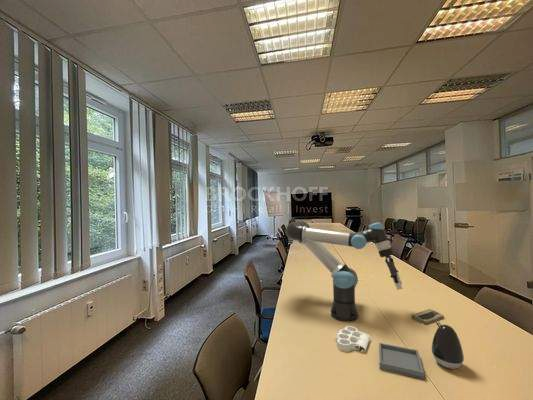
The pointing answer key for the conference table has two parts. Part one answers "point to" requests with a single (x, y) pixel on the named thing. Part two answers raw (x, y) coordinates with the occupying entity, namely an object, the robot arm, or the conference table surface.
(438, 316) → the computer
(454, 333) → the pump dispenser
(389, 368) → the holder tray
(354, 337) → the knuckle duster
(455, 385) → the conference table surface
